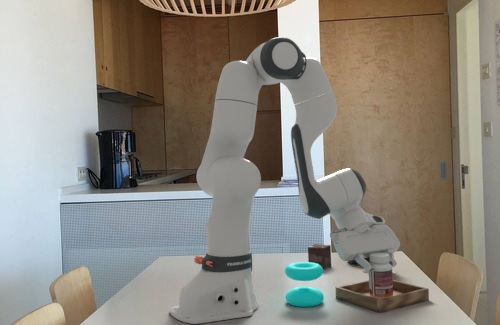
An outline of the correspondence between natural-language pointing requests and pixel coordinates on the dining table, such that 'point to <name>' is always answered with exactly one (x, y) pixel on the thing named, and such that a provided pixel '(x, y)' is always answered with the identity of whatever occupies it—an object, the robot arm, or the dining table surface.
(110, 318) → the dining table surface
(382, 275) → the pill bottle
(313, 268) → the donuts
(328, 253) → the box
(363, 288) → the tray
